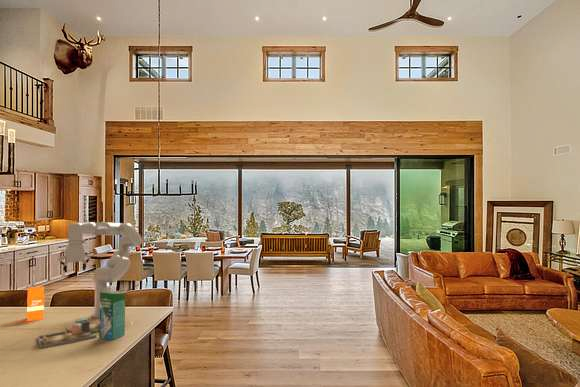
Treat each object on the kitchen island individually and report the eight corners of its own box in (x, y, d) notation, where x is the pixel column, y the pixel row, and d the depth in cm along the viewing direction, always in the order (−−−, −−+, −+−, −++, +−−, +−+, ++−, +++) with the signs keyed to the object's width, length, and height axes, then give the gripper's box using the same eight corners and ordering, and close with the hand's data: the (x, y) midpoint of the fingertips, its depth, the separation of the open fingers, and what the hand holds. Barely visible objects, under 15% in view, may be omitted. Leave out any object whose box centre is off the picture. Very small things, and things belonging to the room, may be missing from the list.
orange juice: (43, 318, 236) (44, 287, 237) (26, 321, 231) (27, 289, 232) (43, 315, 243) (44, 285, 243) (27, 318, 238) (27, 286, 238)
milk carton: (124, 334, 207) (125, 289, 208) (112, 340, 199) (112, 293, 200) (112, 332, 210) (112, 288, 211) (99, 338, 202) (99, 292, 203)
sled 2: (105, 326, 222) (106, 312, 222) (108, 329, 217) (108, 315, 217) (65, 333, 209) (65, 319, 209) (67, 337, 203) (67, 322, 204)
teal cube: (85, 326, 214) (85, 317, 214) (87, 328, 210) (87, 319, 211) (75, 327, 211) (75, 319, 211) (77, 330, 207) (77, 321, 207)
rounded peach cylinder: (80, 332, 204) (80, 322, 205) (81, 334, 201) (81, 324, 201) (71, 333, 202) (71, 324, 202) (72, 335, 198) (72, 326, 198)
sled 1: (87, 334, 208) (87, 319, 208) (90, 337, 202) (90, 322, 203) (42, 342, 194) (42, 327, 195) (44, 346, 189) (44, 331, 189)
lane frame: (89, 328, 218) (89, 326, 218) (96, 337, 203) (96, 335, 203) (37, 338, 202) (37, 336, 202) (40, 348, 187) (40, 346, 187)
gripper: (89, 241, 234) (89, 268, 234) (57, 243, 224) (57, 272, 223) (92, 242, 229) (91, 270, 228) (59, 244, 218) (59, 273, 217)
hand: (74, 271), depth 225 cm, fingers open, 9 cm apart
